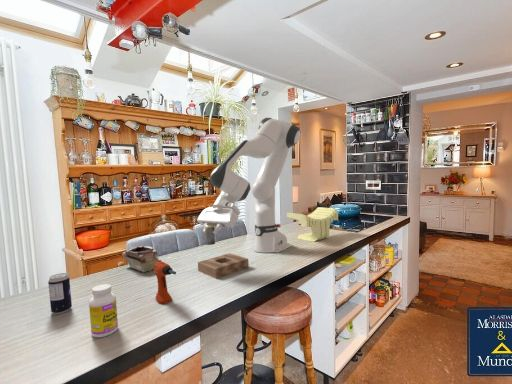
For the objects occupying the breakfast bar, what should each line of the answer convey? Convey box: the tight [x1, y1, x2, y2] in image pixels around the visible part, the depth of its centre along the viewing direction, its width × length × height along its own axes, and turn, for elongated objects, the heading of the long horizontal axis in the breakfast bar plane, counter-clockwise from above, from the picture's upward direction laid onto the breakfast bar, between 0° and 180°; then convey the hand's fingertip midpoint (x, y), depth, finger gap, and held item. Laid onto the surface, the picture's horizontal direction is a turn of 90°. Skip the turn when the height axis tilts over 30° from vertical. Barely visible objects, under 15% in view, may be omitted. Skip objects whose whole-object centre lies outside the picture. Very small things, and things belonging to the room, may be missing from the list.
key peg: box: [204, 225, 216, 246], centre depth 120 cm, size 4×4×8 cm
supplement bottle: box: [88, 283, 119, 338], centre depth 78 cm, size 7×7×13 cm
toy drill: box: [153, 259, 177, 305], centre depth 94 cm, size 5×18×14 cm, turn 38°
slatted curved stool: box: [286, 206, 339, 242], centre depth 176 cm, size 30×16×18 cm, turn 129°
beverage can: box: [47, 272, 73, 315], centre depth 92 cm, size 6×6×12 cm
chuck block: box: [197, 252, 250, 279], centre depth 127 cm, size 18×14×4 cm
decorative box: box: [121, 245, 160, 273], centre depth 133 cm, size 13×20×10 cm, turn 45°
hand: (209, 233), depth 120 cm, fingers closed on key peg, 4 cm apart
